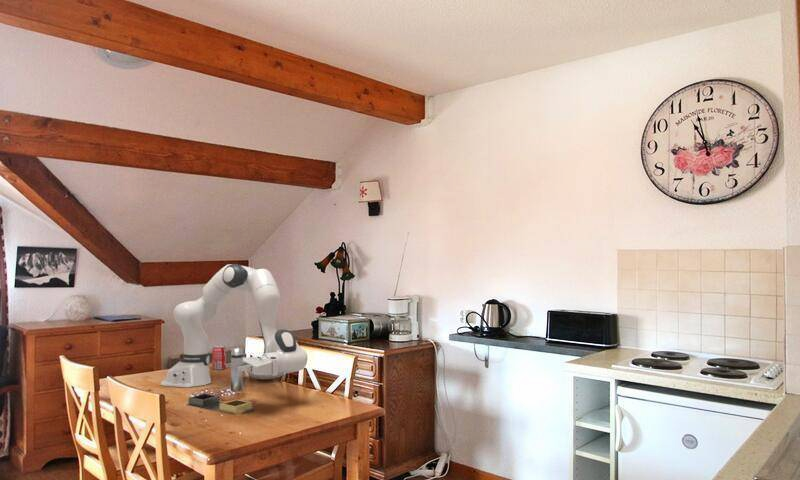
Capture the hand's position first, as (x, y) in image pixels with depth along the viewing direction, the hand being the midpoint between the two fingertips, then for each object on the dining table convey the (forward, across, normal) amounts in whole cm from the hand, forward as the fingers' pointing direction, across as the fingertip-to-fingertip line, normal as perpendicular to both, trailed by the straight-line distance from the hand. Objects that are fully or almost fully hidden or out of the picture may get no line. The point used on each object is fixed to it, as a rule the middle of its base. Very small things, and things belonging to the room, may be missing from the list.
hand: (234, 367), depth 220 cm
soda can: (-20, -86, +17) cm, 90 cm away
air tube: (-1, 0, +9) cm, 9 cm away
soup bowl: (-33, -51, +18) cm, 63 cm away
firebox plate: (+3, -8, +17) cm, 19 cm away
